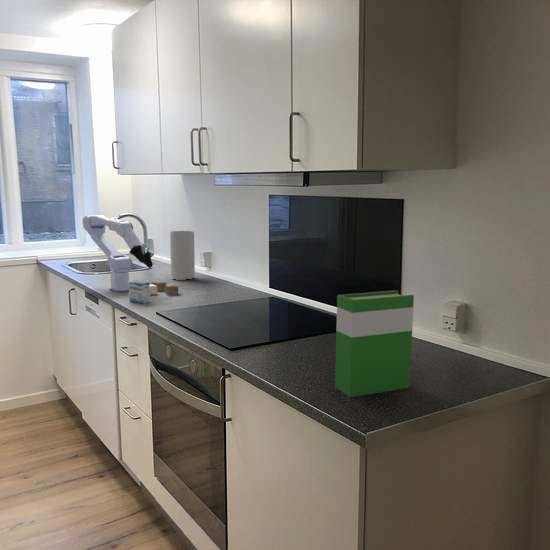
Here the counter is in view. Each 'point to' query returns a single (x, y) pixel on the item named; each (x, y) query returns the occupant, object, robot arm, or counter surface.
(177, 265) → the cylinder vase
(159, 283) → the dotted block
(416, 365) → the counter surface
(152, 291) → the plain block
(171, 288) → the dotted block
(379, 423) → the counter surface
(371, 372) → the hardback book
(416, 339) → the counter surface
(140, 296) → the medicine box
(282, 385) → the counter surface
